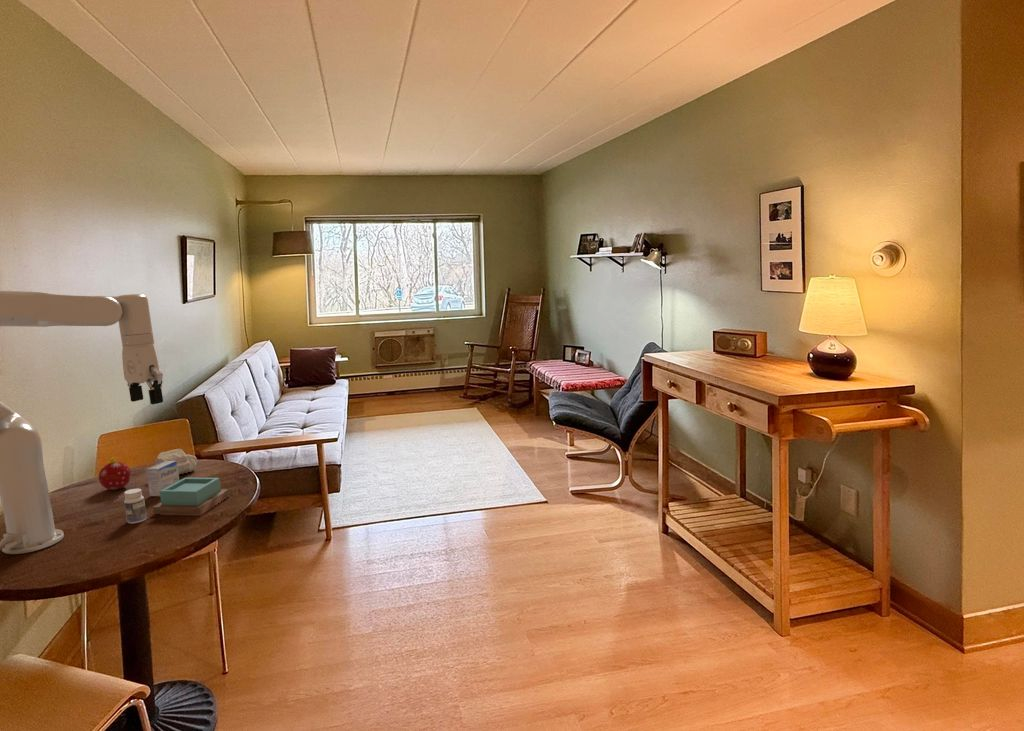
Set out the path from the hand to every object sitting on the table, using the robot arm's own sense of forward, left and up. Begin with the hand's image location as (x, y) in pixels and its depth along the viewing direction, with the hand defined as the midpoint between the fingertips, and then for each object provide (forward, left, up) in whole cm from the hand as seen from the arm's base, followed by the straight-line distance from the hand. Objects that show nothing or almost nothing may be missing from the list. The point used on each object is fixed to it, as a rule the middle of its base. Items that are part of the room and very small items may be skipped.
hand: (147, 401), depth 177 cm
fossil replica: (+28, +15, -31) cm, 45 cm away
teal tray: (+2, -8, -29) cm, 30 cm away
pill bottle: (-9, +1, -31) cm, 32 cm away
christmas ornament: (+14, +26, -31) cm, 43 cm away
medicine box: (+12, +8, -31) cm, 34 cm away
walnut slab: (+2, -8, -32) cm, 33 cm away
